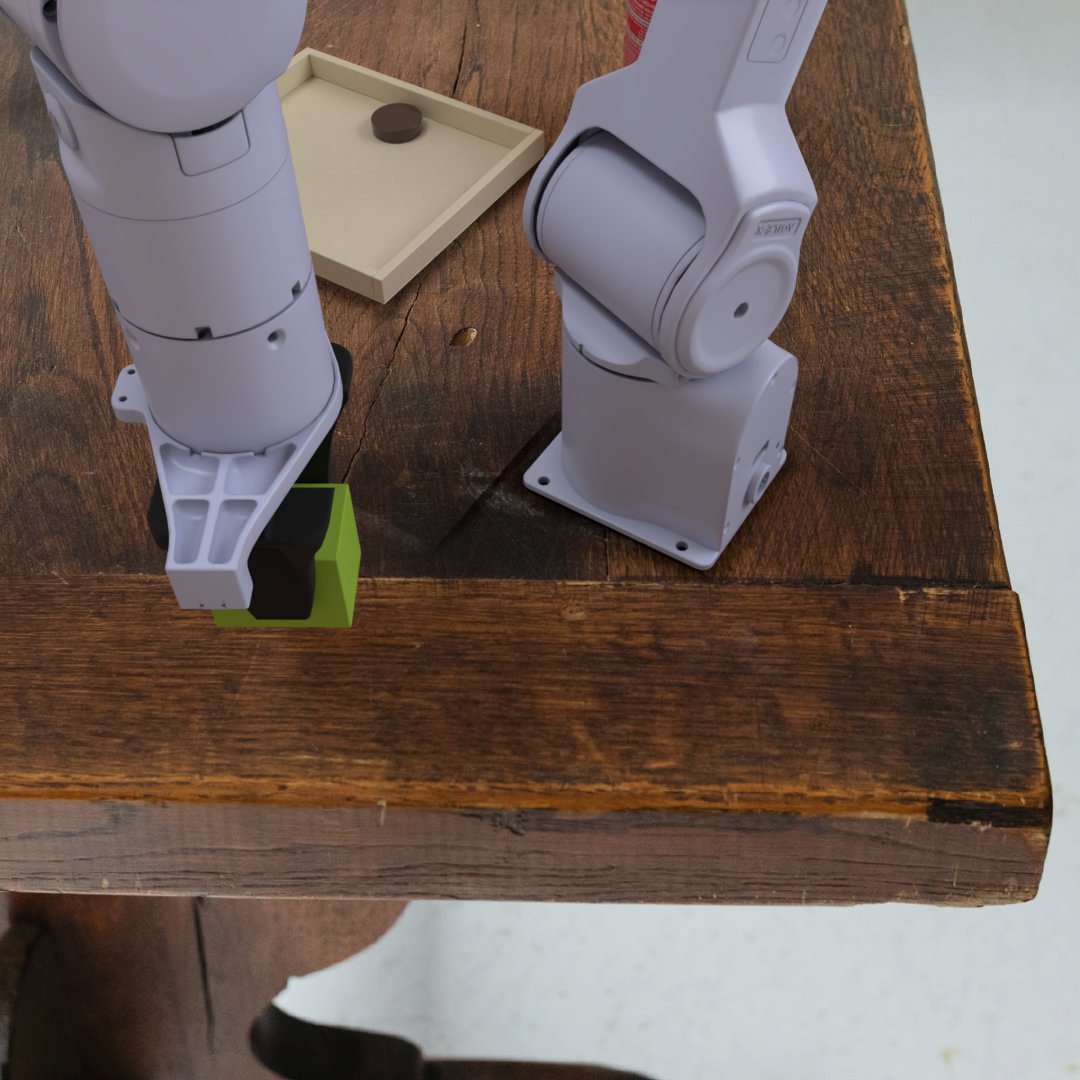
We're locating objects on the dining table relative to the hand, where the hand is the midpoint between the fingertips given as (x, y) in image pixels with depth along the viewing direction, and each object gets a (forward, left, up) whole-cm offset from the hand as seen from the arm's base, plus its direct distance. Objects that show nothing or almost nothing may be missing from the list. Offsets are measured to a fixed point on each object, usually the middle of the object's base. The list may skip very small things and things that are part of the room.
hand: (291, 565), depth 46 cm
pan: (+19, -26, -6) cm, 33 cm away
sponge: (0, 0, -1) cm, 1 cm away
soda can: (+4, -39, -6) cm, 39 cm away
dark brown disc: (+19, -31, -6) cm, 37 cm away
